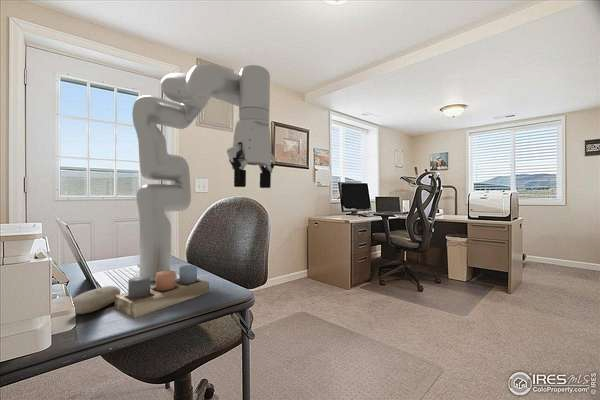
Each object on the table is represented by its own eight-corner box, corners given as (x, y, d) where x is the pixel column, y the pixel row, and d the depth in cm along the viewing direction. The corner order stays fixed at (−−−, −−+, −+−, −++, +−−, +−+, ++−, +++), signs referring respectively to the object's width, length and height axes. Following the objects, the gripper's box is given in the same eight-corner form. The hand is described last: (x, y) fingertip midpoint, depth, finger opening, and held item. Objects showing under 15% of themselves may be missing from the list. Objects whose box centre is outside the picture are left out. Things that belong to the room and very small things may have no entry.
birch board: (114, 307, 72) (114, 295, 71) (188, 285, 89) (188, 276, 89) (135, 317, 66) (135, 305, 66) (209, 292, 84) (209, 282, 84)
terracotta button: (152, 287, 77) (152, 273, 77) (168, 283, 81) (168, 269, 81) (162, 291, 74) (162, 276, 74) (179, 286, 78) (179, 272, 78)
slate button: (175, 281, 83) (175, 267, 83) (190, 277, 87) (190, 264, 87) (186, 284, 80) (186, 270, 80) (200, 280, 84) (200, 266, 84)
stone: (129, 290, 77) (93, 292, 65) (117, 313, 75) (78, 319, 64) (112, 281, 78) (74, 282, 66) (100, 304, 77) (59, 308, 65)
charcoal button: (124, 295, 71) (124, 279, 71) (143, 290, 75) (144, 275, 75) (134, 299, 68) (134, 283, 68) (154, 294, 72) (154, 278, 72)
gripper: (263, 127, 81) (262, 188, 81) (217, 112, 66) (216, 186, 66) (285, 124, 77) (284, 188, 77) (241, 107, 62) (240, 186, 62)
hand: (253, 187), depth 72 cm, fingers open, 9 cm apart
